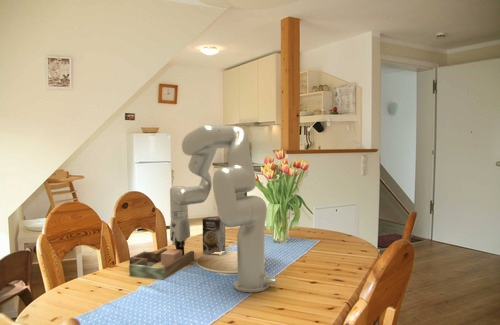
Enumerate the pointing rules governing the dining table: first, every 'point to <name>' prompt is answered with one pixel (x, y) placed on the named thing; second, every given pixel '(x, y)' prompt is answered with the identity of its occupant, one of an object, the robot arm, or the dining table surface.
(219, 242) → the coffee box
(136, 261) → the channel
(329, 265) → the dining table surface
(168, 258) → the block
